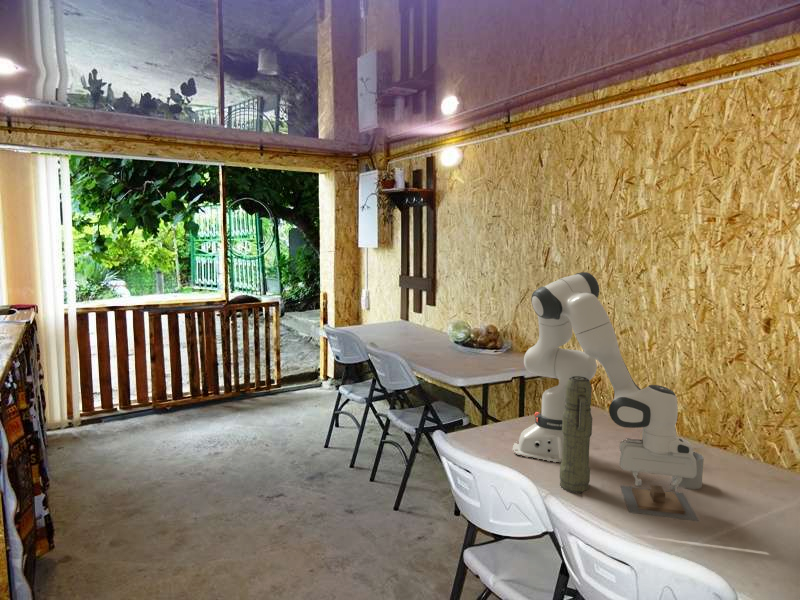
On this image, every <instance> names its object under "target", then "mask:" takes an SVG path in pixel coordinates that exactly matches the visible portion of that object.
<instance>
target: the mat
mask: <svg viewBox="0 0 800 600" xmlns="http://www.w3.org/2000/svg"><path fill="white" fill-rule="evenodd" d="M619 486H620V490H621V492H622V495H623V498H624V501H625V504H626V507H627V510H628V513H632V514H640V515H647V516H653V517H654V516H655V517H664V518H669V519H671V518H672V519H678V520H687V521H692V522H693V521H694V522H695V521H696V522H700V520H699V518H698V516H697V515H696V513H695V512H694V510H693V507H692V506H691V504H690V502H689V501H688V499H687V497H686V496H685V494H684V493H683V492H679V491H678V492H677V491H672V490H664V492H673V493H675V494H676V496H677V498H678V500H679V501H680V503H681V505H682V507H683V509H684V510H685V514H677V513H669V512H661V511H653V510H645V509H639V508H638V506H637V503H636V500H635V498H634V495H633V493H632V488H639V489H647V490H650V488H643V487H638V486H636V487H635V486H626V485H619Z"/></svg>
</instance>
